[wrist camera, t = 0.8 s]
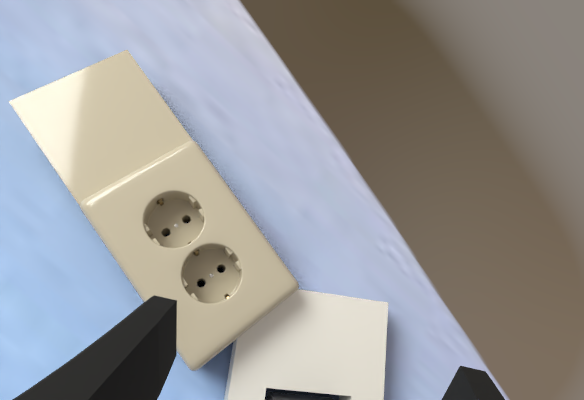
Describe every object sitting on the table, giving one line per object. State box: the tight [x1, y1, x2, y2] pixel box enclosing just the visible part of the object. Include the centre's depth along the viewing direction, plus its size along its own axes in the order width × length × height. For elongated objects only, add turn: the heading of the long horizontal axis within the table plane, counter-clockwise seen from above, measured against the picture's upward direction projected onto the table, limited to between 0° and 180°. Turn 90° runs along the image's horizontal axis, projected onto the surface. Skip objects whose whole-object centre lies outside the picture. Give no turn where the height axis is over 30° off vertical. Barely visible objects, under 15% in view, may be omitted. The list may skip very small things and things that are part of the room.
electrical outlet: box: [9, 50, 299, 371], centre depth 23 cm, size 7×4×18 cm
